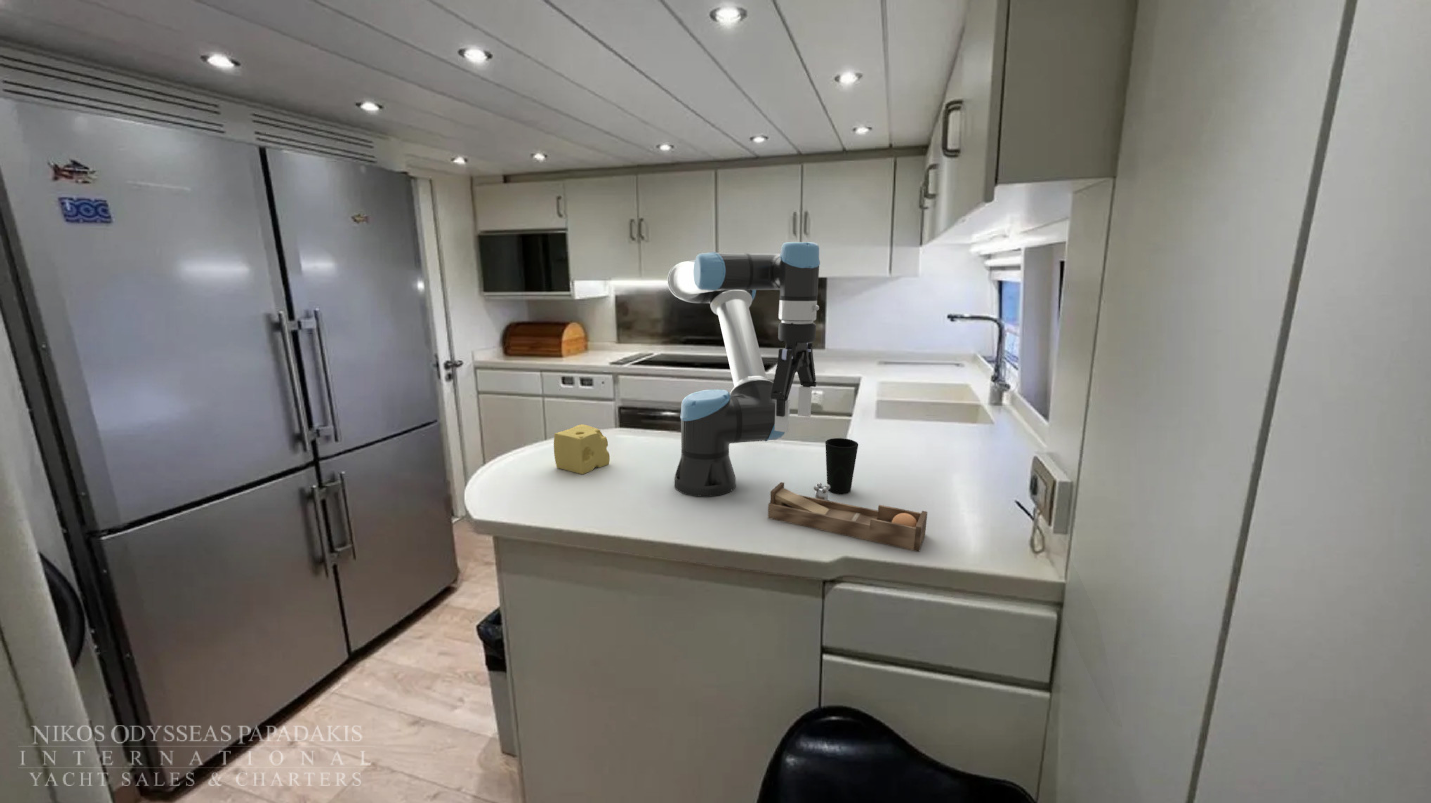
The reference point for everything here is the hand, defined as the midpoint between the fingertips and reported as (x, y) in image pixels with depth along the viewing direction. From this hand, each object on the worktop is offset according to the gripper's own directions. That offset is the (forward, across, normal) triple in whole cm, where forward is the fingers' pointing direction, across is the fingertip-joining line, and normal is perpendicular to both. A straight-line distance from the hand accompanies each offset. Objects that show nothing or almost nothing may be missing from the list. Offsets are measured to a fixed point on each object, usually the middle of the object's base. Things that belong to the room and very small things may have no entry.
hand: (793, 423), depth 118 cm
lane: (+21, 0, -12) cm, 24 cm away
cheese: (+21, +2, +60) cm, 64 cm away
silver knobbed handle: (+21, +8, -5) cm, 23 cm away
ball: (+18, 0, -24) cm, 30 cm away
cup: (+21, +19, -6) cm, 29 cm away
